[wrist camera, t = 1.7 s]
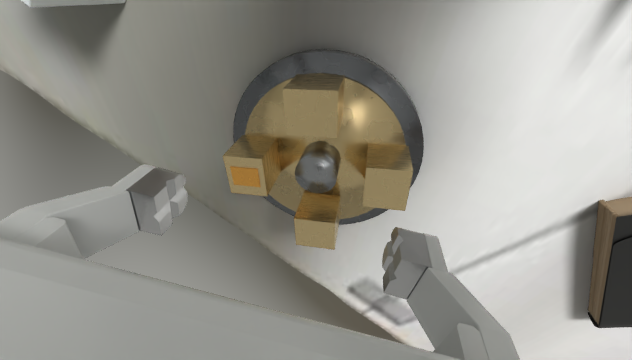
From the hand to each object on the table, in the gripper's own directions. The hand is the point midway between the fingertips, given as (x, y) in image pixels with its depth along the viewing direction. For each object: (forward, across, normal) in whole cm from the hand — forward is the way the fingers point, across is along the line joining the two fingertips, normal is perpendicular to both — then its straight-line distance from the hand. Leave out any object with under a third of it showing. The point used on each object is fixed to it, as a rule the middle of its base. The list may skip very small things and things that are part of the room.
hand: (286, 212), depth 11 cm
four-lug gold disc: (+23, 0, +10) cm, 25 cm away
